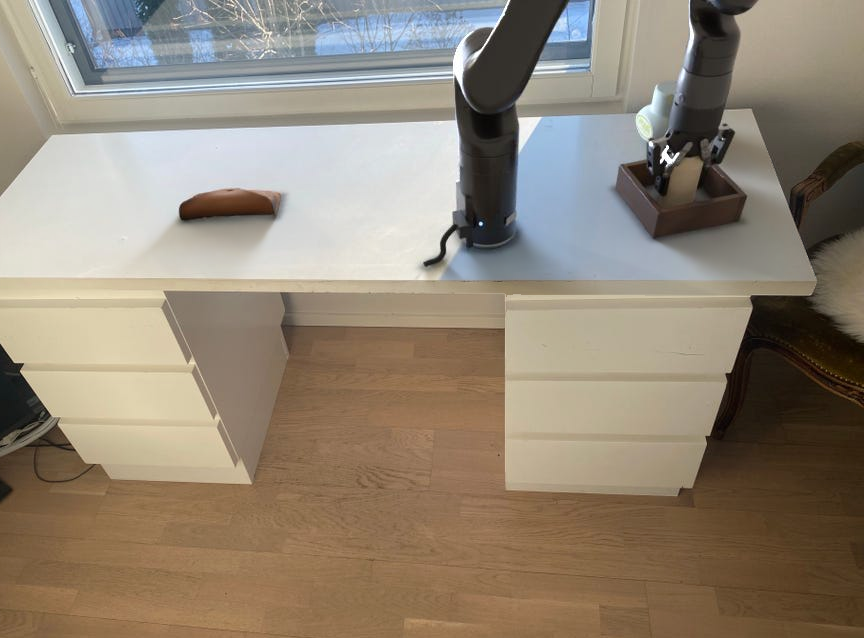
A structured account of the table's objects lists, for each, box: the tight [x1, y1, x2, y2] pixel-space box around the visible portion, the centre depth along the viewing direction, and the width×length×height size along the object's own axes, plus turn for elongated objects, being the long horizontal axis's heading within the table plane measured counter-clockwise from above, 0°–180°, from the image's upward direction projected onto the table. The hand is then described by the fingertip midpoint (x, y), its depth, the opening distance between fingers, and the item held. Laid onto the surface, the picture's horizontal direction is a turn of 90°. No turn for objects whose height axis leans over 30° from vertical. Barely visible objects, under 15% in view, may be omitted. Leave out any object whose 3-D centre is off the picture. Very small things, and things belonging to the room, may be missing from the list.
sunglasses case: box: [178, 187, 282, 221], centre depth 134 cm, size 18×7×7 cm
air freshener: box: [635, 80, 677, 142], centre depth 134 cm, size 11×8×10 cm
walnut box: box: [614, 155, 748, 239], centre depth 121 cm, size 15×15×5 cm
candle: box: [658, 153, 703, 209], centre depth 119 cm, size 6×6×10 cm
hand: (678, 189), depth 121 cm, fingers closed on candle, 5 cm apart
